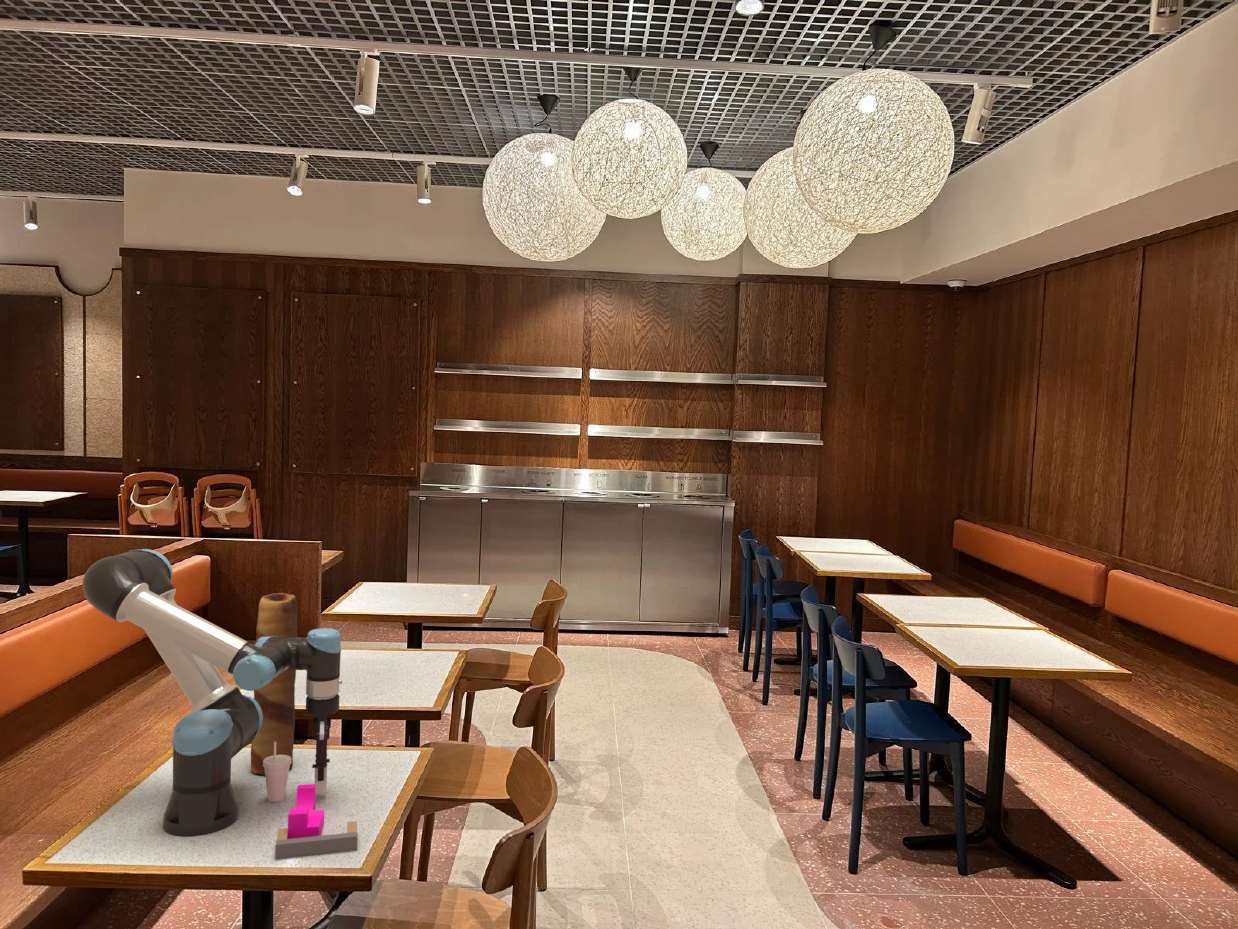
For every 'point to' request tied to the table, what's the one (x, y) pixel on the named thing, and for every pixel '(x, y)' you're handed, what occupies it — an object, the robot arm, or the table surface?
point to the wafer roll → (276, 684)
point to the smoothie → (276, 775)
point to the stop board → (315, 843)
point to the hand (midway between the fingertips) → (320, 792)
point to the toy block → (305, 814)
